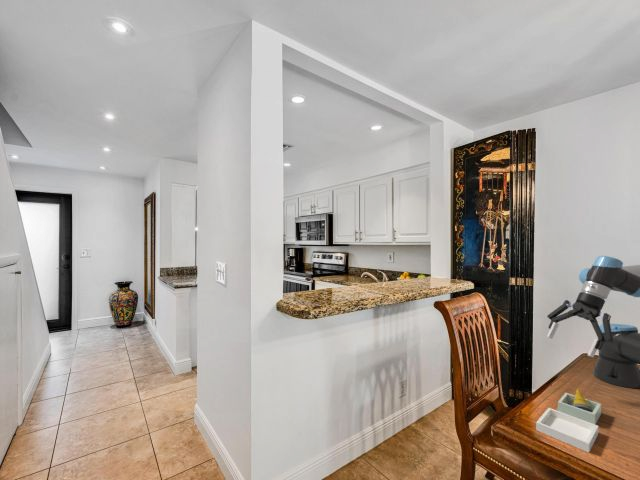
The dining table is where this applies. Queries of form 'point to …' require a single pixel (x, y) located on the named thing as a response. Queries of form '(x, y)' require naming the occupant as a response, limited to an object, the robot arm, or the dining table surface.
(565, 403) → the pale green square frame
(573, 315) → the robot arm
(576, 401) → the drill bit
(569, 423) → the tray
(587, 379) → the dining table surface
